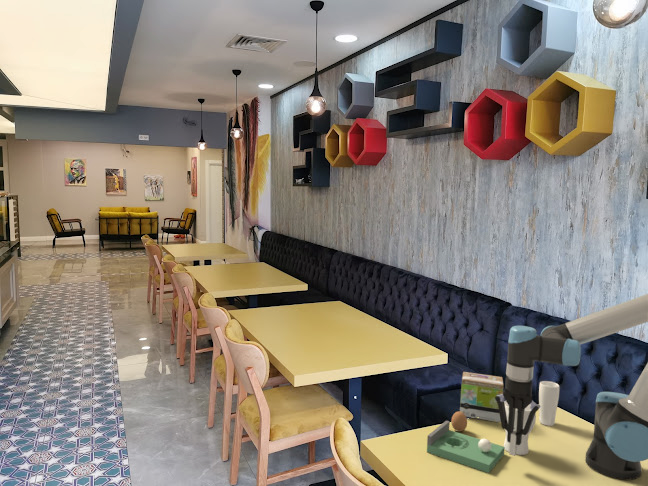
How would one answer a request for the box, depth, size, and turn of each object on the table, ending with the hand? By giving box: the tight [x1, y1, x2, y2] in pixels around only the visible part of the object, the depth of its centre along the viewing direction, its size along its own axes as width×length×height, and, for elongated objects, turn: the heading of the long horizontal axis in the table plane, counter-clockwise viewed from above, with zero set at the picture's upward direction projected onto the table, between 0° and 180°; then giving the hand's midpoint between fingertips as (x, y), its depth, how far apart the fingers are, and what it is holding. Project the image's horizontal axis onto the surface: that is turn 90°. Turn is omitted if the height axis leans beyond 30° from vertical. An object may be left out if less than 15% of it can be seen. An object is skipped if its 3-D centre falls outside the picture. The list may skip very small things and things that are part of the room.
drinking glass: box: [538, 380, 560, 427], centre depth 189 cm, size 7×7×15 cm
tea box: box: [459, 371, 504, 423], centre depth 195 cm, size 15×10×15 cm, turn 73°
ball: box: [478, 438, 492, 452], centre depth 160 cm, size 4×4×4 cm
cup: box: [503, 400, 537, 456], centre depth 167 cm, size 11×11×15 cm
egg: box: [450, 410, 468, 432], centre depth 180 cm, size 5×5×7 cm
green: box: [426, 420, 505, 474], centre depth 164 cm, size 20×15×6 cm
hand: (513, 453), depth 155 cm, fingers closed
